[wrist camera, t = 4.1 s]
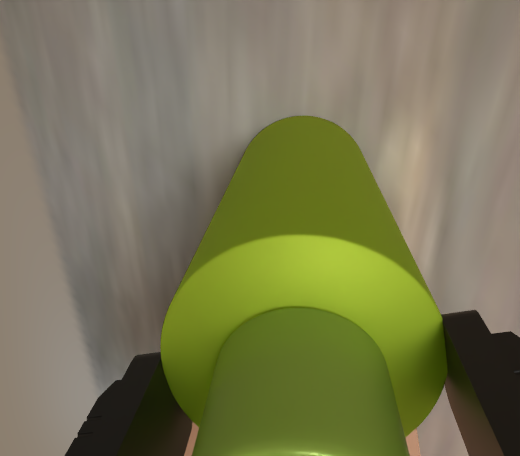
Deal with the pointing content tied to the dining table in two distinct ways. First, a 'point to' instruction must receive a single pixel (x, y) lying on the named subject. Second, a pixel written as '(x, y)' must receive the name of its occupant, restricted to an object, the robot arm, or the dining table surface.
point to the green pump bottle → (303, 309)
